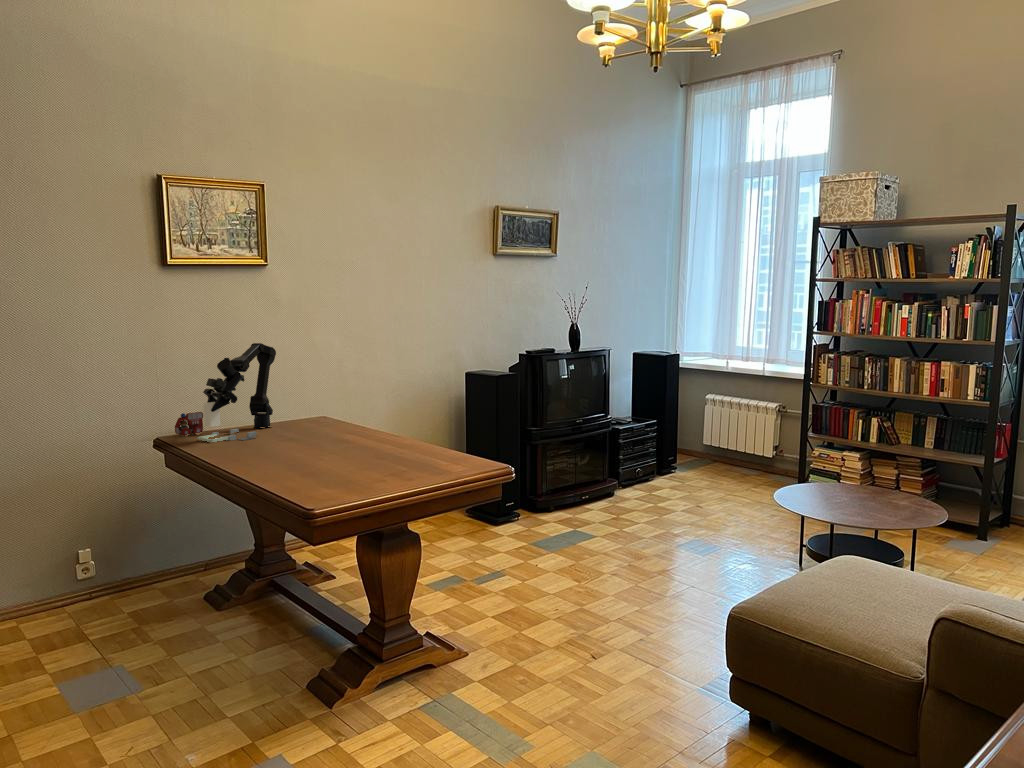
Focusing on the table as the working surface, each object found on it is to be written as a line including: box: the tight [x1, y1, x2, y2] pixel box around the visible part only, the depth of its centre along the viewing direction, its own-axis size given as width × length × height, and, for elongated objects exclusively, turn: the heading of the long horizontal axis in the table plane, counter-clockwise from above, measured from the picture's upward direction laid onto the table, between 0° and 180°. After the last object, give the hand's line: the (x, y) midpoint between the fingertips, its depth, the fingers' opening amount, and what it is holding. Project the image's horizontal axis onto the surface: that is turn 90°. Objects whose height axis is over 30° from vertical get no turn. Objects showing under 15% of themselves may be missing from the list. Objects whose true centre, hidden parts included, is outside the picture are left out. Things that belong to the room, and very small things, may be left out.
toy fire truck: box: [174, 411, 204, 436], centre depth 342 cm, size 7×12×10 cm, turn 129°
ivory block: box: [203, 402, 221, 428], centre depth 327 cm, size 5×5×10 cm
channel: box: [210, 428, 257, 442], centre depth 335 cm, size 13×25×2 cm, turn 52°
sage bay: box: [196, 434, 230, 444], centre depth 328 cm, size 9×11×2 cm
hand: (208, 410), depth 325 cm, fingers closed on ivory block, 5 cm apart
